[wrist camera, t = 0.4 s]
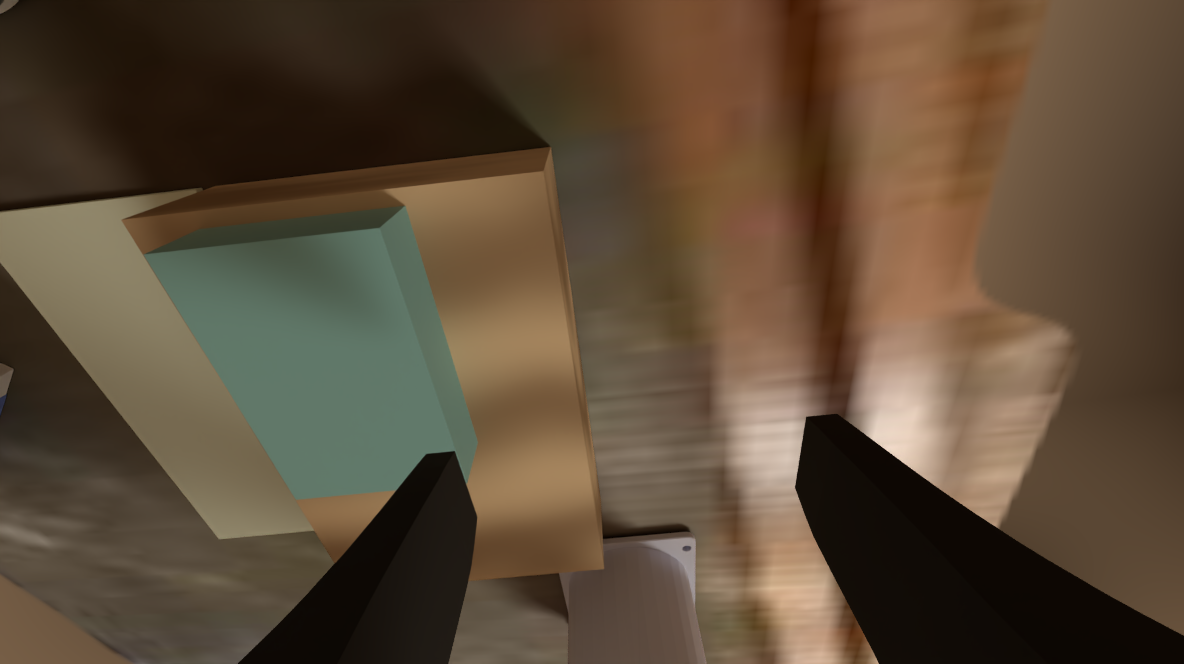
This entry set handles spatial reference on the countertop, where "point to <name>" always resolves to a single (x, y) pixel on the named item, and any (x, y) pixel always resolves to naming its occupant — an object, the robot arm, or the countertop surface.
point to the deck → (465, 340)
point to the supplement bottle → (6, 5)
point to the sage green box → (325, 345)
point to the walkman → (4, 382)
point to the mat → (146, 357)
